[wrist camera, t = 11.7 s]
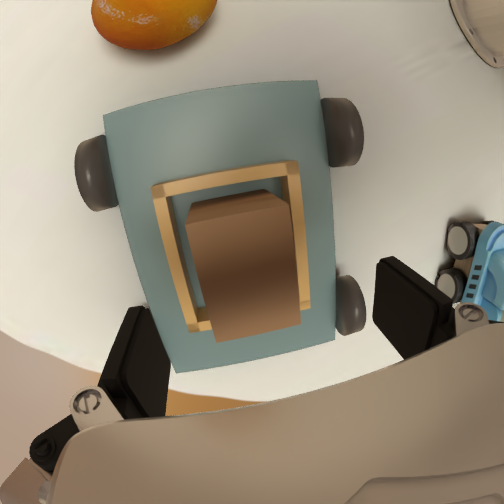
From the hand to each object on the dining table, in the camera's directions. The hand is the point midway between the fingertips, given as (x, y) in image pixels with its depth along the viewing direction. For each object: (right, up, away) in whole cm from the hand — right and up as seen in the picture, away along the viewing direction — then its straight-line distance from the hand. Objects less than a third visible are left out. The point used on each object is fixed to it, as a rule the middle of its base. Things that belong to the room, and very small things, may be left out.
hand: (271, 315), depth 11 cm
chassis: (-2, +4, +11) cm, 12 cm away
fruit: (-8, +21, +4) cm, 23 cm away
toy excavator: (+25, -1, +17) cm, 30 cm away
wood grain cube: (-2, +3, +9) cm, 10 cm away
